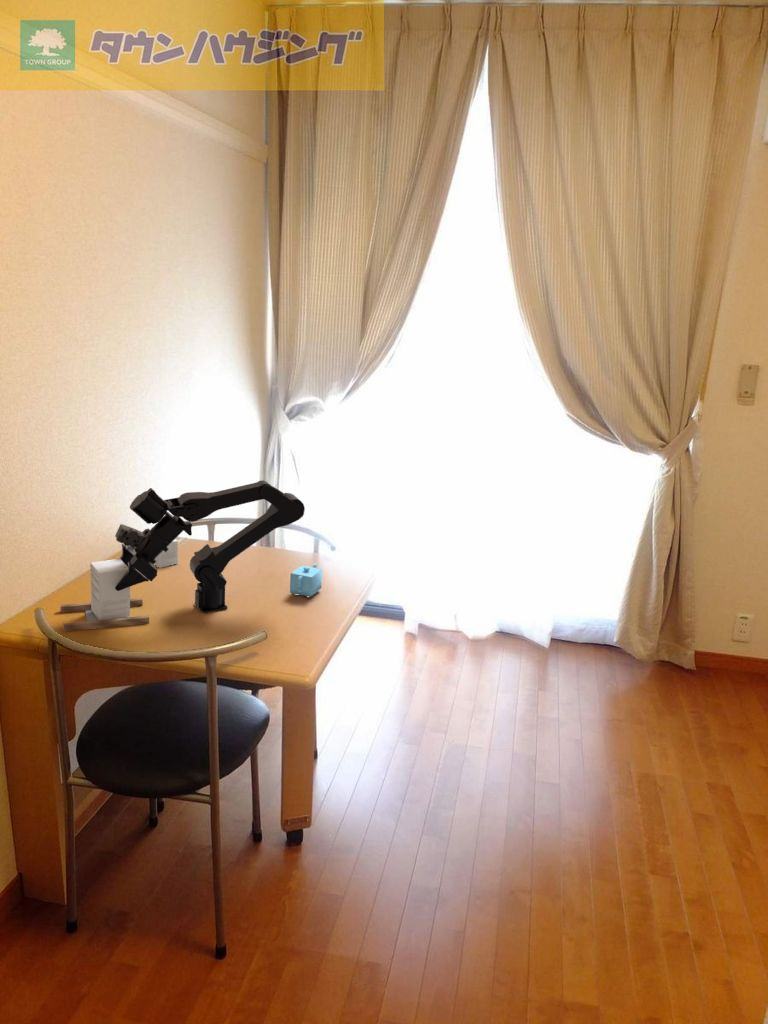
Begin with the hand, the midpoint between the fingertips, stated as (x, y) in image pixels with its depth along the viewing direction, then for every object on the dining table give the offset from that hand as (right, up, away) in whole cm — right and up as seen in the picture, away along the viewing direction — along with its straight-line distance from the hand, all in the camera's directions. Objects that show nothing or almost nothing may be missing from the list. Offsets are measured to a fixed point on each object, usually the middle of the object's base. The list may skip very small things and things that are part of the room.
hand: (114, 582), depth 193 cm
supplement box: (-2, -8, +2) cm, 8 cm away
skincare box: (+1, +2, +39) cm, 39 cm away
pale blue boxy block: (+43, -5, +26) cm, 51 cm away
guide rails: (-3, -8, +1) cm, 9 cm away
